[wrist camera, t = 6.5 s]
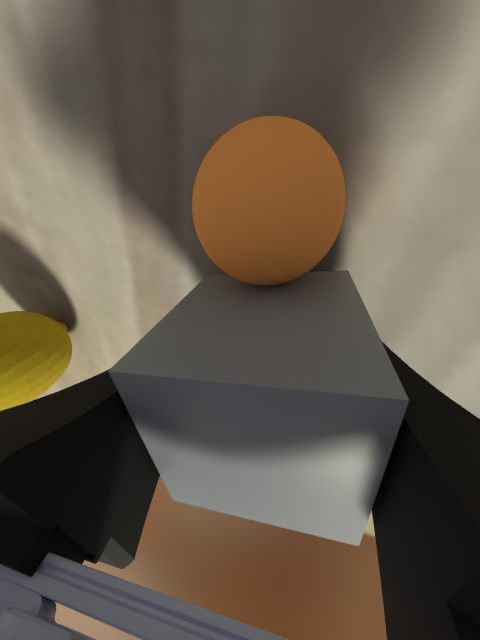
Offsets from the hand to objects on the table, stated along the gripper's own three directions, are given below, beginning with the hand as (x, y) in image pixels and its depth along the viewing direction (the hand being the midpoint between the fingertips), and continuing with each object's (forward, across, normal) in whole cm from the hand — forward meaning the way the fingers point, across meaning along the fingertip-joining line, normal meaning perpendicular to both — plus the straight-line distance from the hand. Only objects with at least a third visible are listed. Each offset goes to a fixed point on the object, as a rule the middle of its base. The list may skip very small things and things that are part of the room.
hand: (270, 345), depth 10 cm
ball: (+1, 0, -5) cm, 5 cm away
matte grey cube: (+2, 0, 0) cm, 2 cm away
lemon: (+4, +16, +2) cm, 16 cm away
